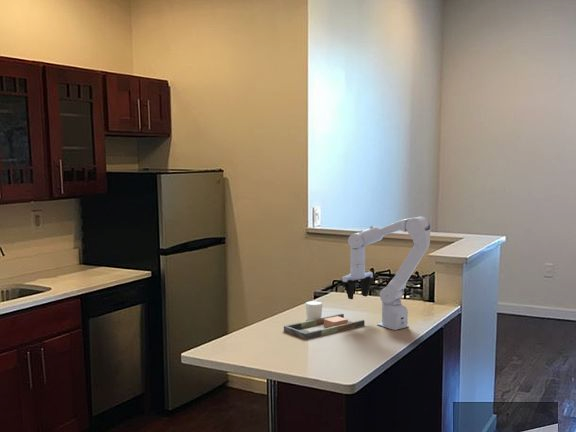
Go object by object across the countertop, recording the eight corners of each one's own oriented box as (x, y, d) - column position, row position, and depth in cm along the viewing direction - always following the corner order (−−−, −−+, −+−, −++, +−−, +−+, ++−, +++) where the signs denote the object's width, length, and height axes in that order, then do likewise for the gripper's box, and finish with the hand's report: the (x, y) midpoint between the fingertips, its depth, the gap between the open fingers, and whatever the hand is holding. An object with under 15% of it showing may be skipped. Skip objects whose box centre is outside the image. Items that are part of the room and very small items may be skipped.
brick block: (347, 326, 233) (347, 319, 233) (333, 330, 229) (333, 322, 229) (337, 323, 238) (337, 316, 238) (323, 326, 234) (323, 318, 234)
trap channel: (364, 325, 234) (364, 320, 234) (305, 339, 217) (305, 333, 216) (342, 318, 244) (342, 313, 244) (283, 331, 227) (283, 326, 227)
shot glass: (321, 322, 239) (321, 305, 238) (304, 321, 240) (303, 304, 239) (323, 318, 245) (323, 301, 245) (307, 317, 247) (306, 300, 246)
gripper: (364, 260, 246) (364, 293, 247) (337, 264, 237) (337, 298, 239) (376, 262, 240) (376, 296, 242) (349, 266, 232) (349, 301, 233)
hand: (357, 297), depth 240 cm, fingers open, 7 cm apart
